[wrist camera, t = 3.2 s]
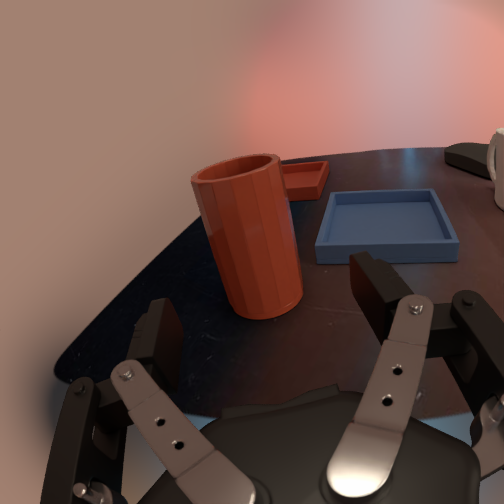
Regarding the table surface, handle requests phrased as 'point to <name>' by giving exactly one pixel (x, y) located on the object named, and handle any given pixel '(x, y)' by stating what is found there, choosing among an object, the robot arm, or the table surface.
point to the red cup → (251, 233)
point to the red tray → (305, 180)
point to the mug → (497, 165)
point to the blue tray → (386, 227)
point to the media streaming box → (470, 157)
